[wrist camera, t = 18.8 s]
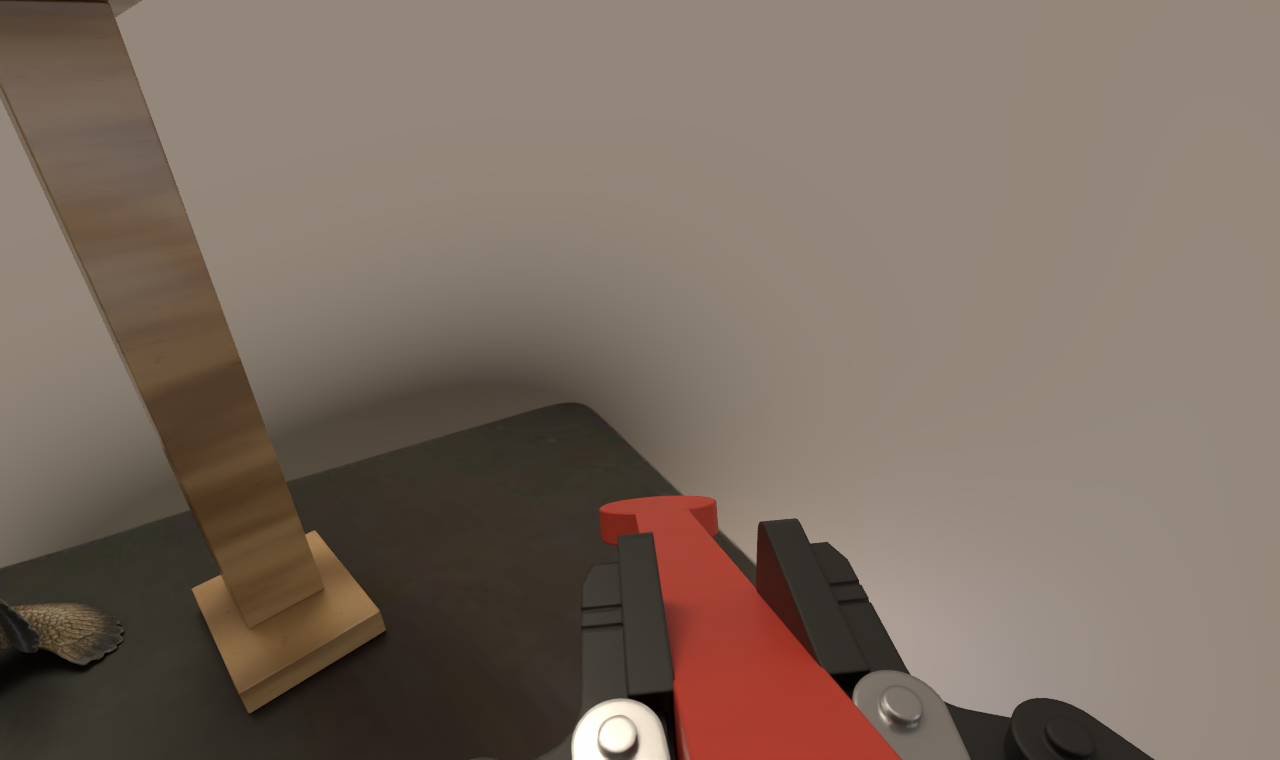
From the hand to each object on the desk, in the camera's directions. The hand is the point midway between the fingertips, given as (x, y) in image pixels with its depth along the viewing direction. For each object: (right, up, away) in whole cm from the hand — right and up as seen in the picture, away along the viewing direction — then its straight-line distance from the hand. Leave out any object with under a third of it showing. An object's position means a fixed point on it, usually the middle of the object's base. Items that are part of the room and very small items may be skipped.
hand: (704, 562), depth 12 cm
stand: (-21, -10, +23) cm, 33 cm away
